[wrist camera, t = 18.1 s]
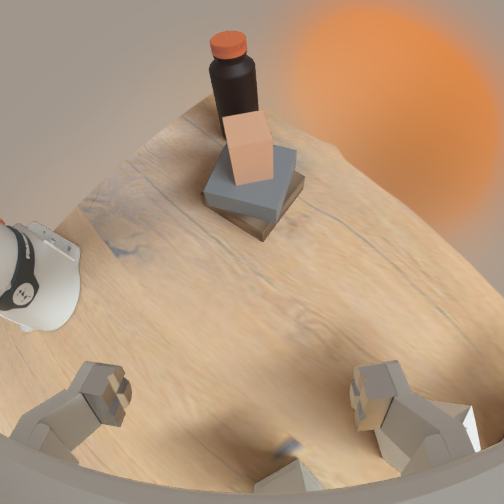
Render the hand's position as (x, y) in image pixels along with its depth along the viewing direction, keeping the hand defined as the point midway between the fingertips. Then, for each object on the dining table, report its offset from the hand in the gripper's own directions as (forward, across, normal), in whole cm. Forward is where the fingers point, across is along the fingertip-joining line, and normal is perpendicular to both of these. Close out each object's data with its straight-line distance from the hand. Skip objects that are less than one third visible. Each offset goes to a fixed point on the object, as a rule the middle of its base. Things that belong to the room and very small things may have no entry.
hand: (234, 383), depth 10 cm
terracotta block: (+35, +1, -1) cm, 35 cm away
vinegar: (+50, +3, -6) cm, 51 cm away
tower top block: (+38, +1, +2) cm, 38 cm away
